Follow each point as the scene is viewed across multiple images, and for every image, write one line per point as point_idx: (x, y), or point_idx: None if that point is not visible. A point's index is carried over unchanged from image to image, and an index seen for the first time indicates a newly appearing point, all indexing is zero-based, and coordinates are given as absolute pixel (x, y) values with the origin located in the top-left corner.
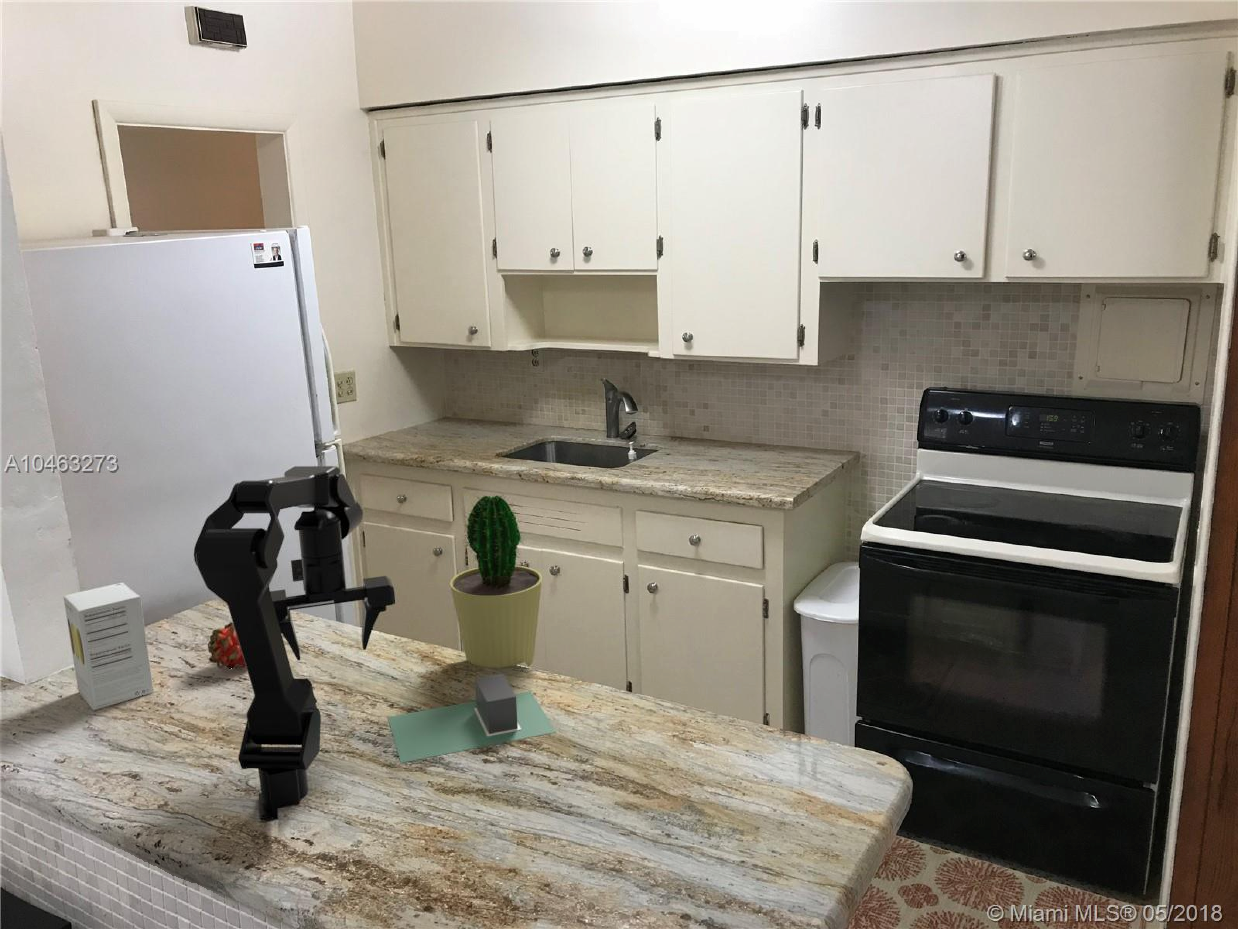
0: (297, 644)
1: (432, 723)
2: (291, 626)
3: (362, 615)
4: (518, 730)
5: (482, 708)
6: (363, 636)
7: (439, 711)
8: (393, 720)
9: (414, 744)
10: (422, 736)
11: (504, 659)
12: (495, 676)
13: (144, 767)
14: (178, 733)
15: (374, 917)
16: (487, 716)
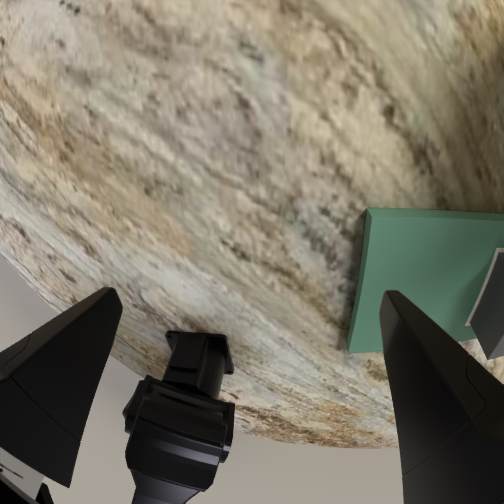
0: (97, 383)
1: (431, 271)
2: (71, 470)
3: (459, 418)
4: None
5: (493, 308)
6: (391, 392)
7: (458, 234)
8: (378, 235)
9: None
10: None
11: None
12: None
13: (21, 216)
14: (18, 131)
15: (280, 440)
16: (480, 337)
